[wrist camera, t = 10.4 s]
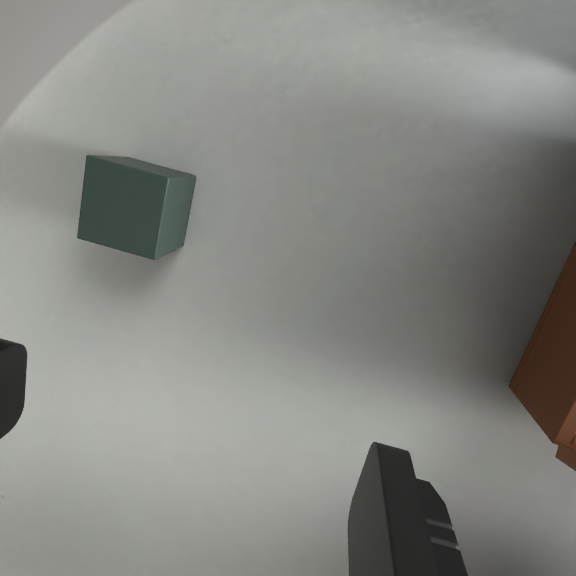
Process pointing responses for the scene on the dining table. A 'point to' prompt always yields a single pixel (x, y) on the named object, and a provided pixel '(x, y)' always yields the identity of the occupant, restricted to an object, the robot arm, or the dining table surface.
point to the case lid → (567, 454)
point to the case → (552, 363)
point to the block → (134, 205)
